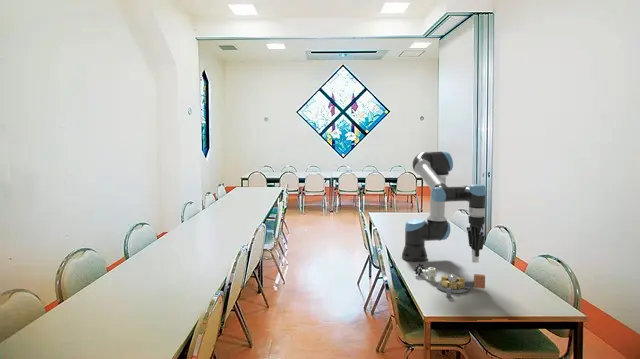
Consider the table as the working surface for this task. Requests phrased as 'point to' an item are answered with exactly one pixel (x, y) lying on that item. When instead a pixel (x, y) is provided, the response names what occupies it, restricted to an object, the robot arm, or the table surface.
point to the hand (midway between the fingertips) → (475, 262)
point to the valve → (426, 272)
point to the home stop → (448, 292)
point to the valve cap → (453, 291)
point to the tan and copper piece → (464, 282)
